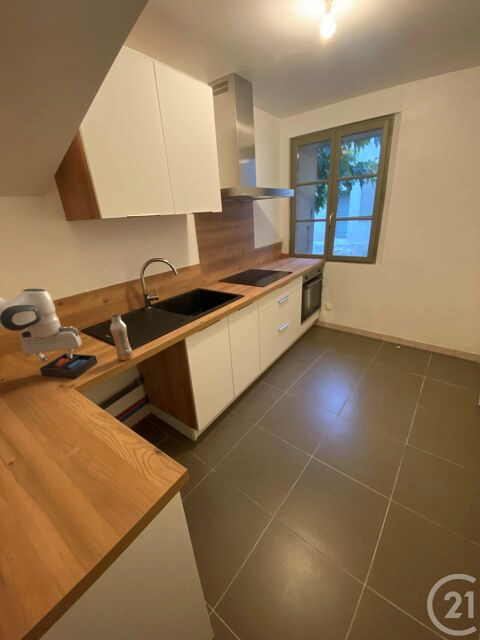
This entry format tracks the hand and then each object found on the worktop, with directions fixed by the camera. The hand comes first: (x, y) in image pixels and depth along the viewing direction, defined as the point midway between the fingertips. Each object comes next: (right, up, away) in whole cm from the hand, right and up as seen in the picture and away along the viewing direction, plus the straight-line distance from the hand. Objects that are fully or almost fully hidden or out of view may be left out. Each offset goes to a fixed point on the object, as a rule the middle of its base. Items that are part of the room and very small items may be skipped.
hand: (57, 359), depth 107 cm
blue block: (+8, -4, +1) cm, 9 cm away
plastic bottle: (+24, -1, +8) cm, 26 cm away
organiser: (+4, -4, +2) cm, 6 cm away
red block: (+1, -3, +2) cm, 4 cm away
